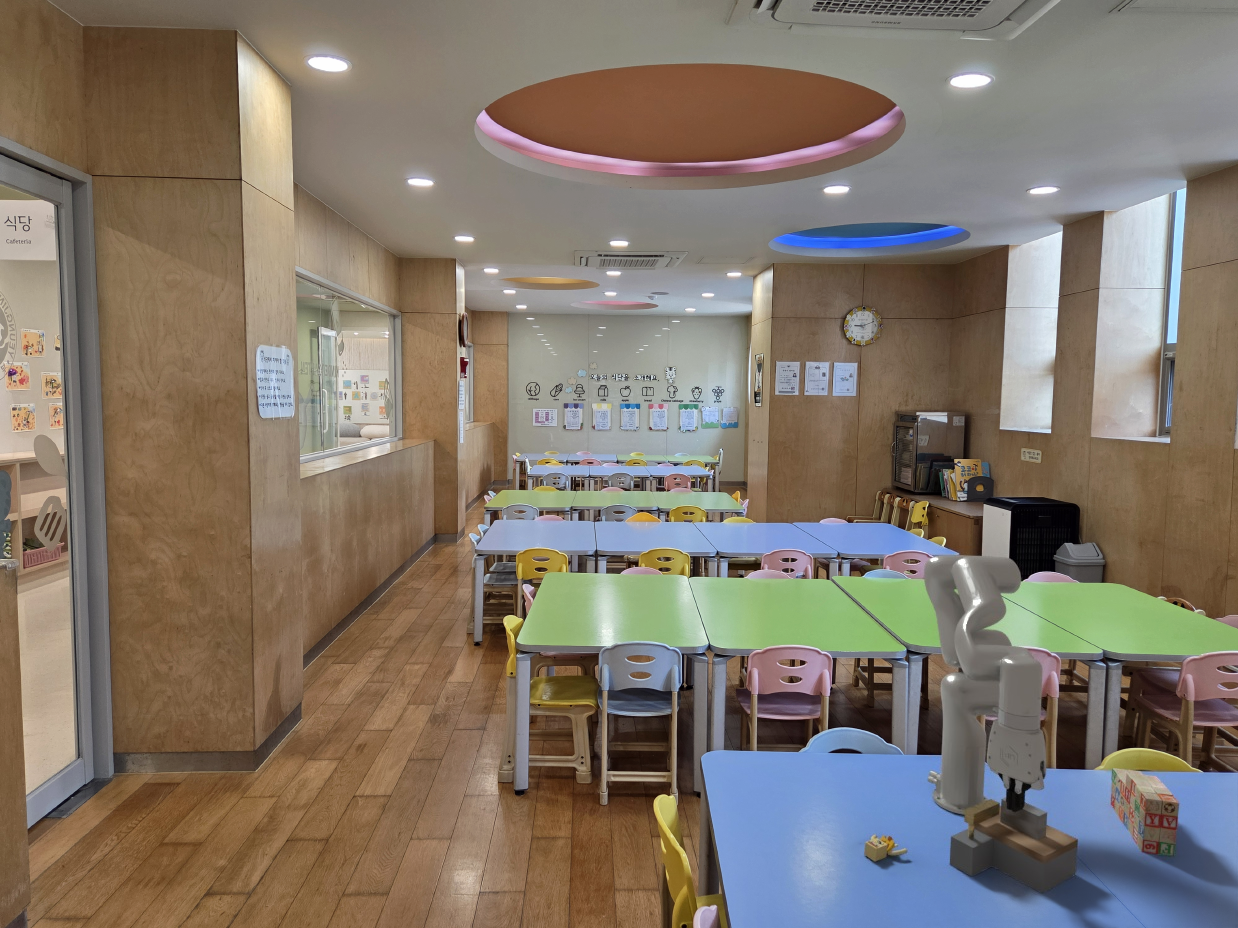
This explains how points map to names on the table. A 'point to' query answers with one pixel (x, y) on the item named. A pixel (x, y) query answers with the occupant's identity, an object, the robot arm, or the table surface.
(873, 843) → the character toy
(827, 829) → the table surface
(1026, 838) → the walnut lid
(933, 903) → the table surface
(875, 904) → the table surface
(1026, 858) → the grey l-shaped block
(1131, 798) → the stack of blocks
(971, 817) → the brass bar
